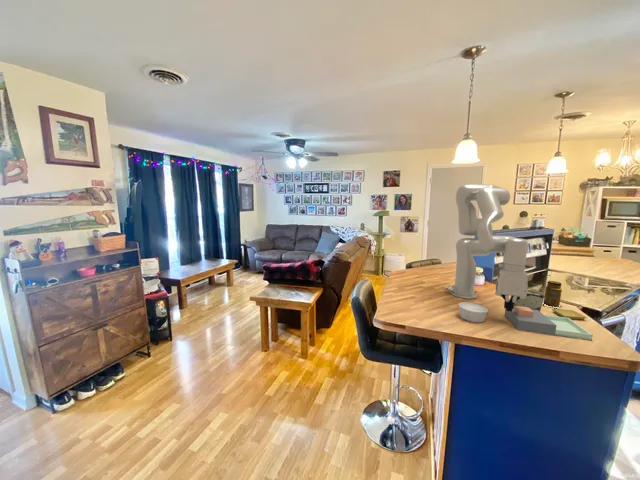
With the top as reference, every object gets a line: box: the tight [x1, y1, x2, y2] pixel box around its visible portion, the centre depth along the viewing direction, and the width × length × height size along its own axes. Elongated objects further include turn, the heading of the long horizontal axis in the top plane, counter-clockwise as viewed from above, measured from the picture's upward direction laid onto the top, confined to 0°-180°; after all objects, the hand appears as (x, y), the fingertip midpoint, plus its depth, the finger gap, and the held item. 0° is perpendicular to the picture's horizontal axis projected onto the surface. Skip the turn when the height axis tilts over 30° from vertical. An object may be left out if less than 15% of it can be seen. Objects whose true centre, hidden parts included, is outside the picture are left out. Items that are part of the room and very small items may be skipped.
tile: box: [514, 306, 534, 317], centre depth 110 cm, size 5×5×2 cm
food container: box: [514, 289, 545, 312], centre depth 124 cm, size 12×6×10 cm, turn 71°
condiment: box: [543, 280, 563, 307], centre depth 132 cm, size 7×8×12 cm
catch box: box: [544, 314, 593, 341], centre depth 107 cm, size 11×16×2 cm
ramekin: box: [458, 301, 489, 323], centre depth 115 cm, size 11×11×5 cm
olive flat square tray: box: [551, 308, 587, 320], centre depth 120 cm, size 9×9×2 cm
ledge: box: [504, 308, 556, 336], centre depth 110 cm, size 12×16×4 cm
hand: (508, 310), depth 112 cm, fingers closed
